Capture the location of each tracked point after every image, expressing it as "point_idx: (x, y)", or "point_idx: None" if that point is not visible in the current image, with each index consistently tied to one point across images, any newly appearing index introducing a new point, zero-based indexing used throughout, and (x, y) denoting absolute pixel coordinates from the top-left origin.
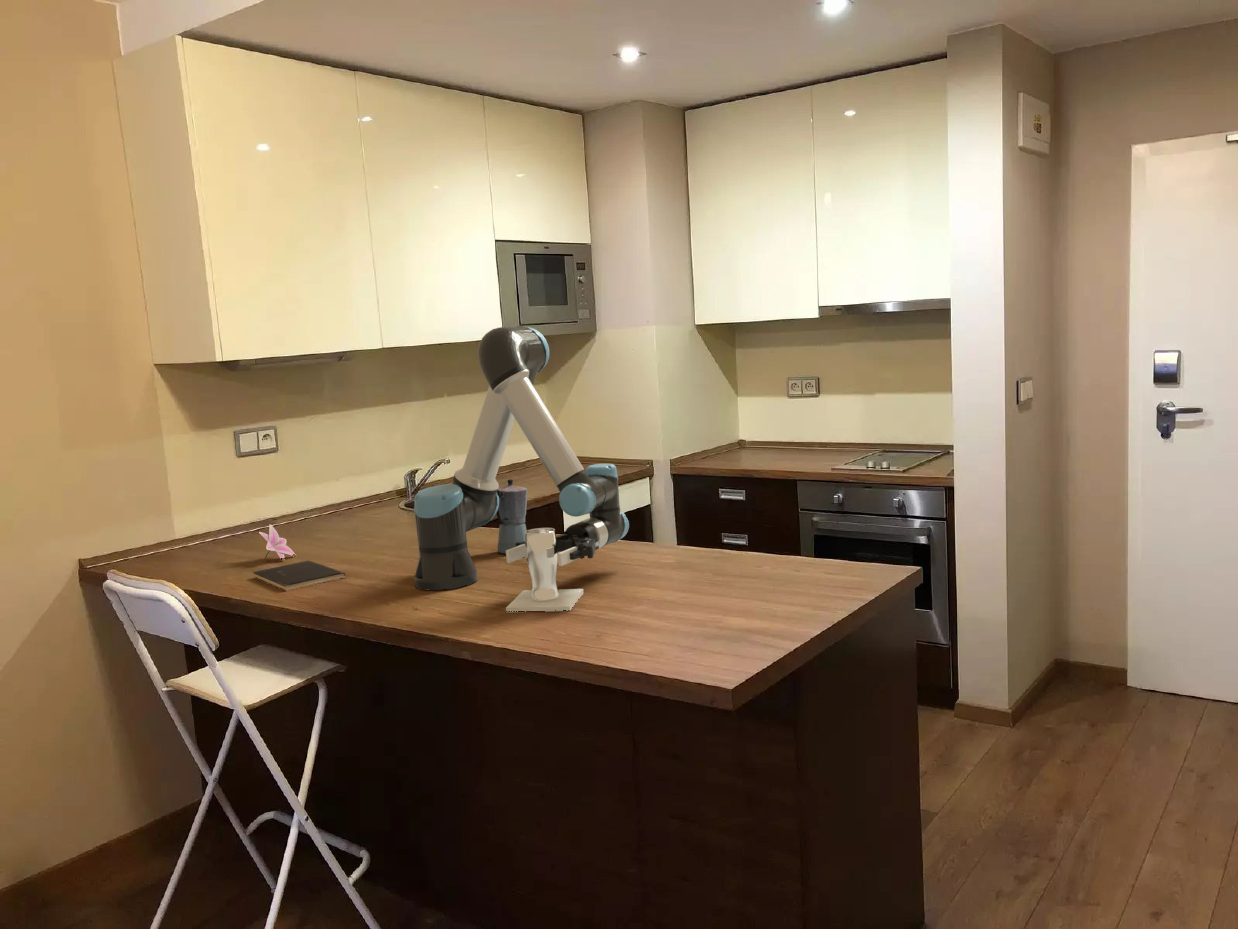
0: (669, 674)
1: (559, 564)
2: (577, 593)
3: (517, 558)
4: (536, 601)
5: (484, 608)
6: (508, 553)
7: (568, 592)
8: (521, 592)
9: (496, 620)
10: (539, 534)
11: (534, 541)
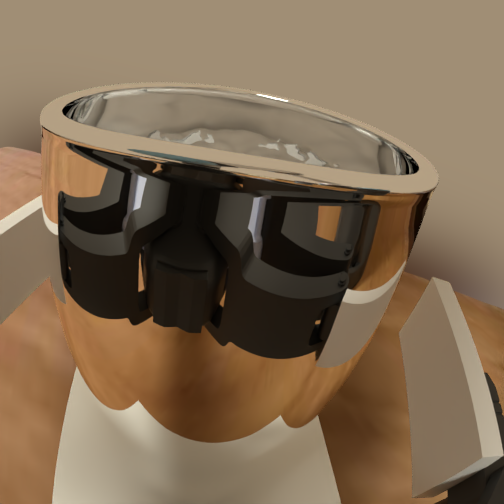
0: (30, 153)
1: None
2: (62, 488)
3: (412, 391)
4: None
5: (385, 393)
6: (427, 291)
7: None
8: None
9: None
10: (204, 91)
11: (240, 146)
